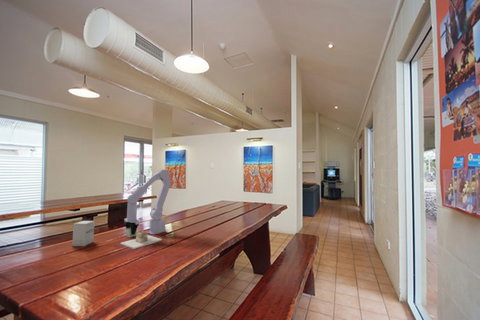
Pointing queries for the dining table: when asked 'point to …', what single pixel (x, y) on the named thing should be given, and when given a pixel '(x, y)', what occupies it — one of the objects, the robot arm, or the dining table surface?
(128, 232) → the sage block
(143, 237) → the maple block
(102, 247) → the dining table surface
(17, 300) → the dining table surface
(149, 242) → the white flat slab
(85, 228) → the supplement box
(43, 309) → the dining table surface
